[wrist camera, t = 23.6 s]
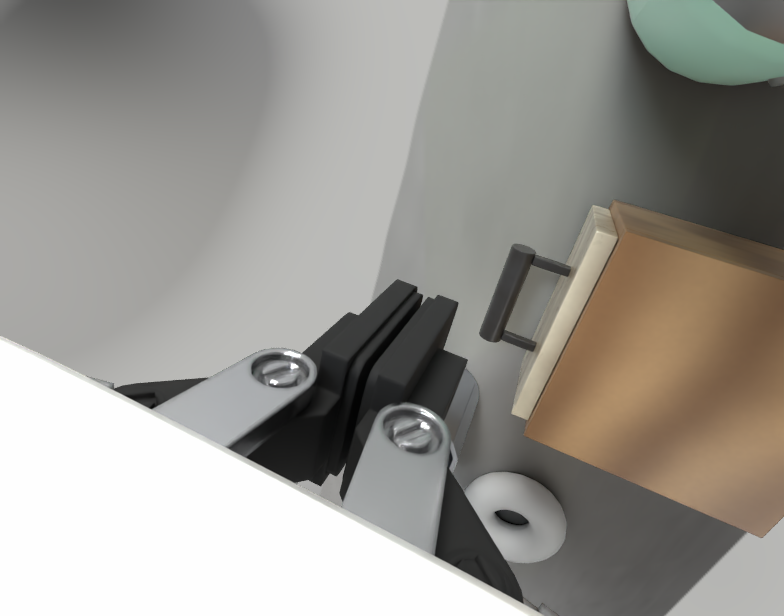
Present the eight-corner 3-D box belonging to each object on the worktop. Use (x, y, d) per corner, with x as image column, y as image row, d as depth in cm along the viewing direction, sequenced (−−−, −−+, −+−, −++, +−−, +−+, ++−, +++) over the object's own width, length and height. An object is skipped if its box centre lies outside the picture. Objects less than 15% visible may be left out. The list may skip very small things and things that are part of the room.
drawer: (477, 341, 38) (455, 390, 31) (535, 187, 32) (524, 207, 25) (694, 426, 34) (722, 503, 27) (810, 270, 28) (883, 321, 21)
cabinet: (534, 365, 38) (523, 435, 30) (613, 199, 31) (626, 231, 23) (718, 437, 35) (762, 538, 26) (851, 269, 28) (965, 337, 20)
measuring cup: (411, 399, 44) (376, 461, 36) (426, 351, 41) (392, 406, 34) (467, 424, 43) (443, 493, 35) (487, 376, 40) (466, 439, 32)
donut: (572, 547, 44) (561, 467, 41) (571, 579, 41) (560, 496, 38) (472, 534, 48) (456, 460, 45) (466, 562, 45) (447, 485, 42)
